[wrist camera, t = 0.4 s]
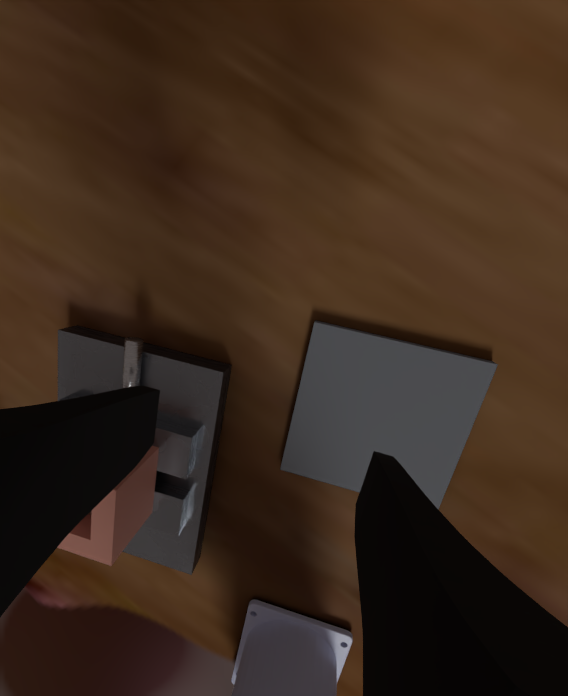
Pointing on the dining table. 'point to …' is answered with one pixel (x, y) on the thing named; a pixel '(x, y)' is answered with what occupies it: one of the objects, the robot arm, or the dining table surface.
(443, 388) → the mat
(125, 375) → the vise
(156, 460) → the collar block
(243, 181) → the dining table surface
